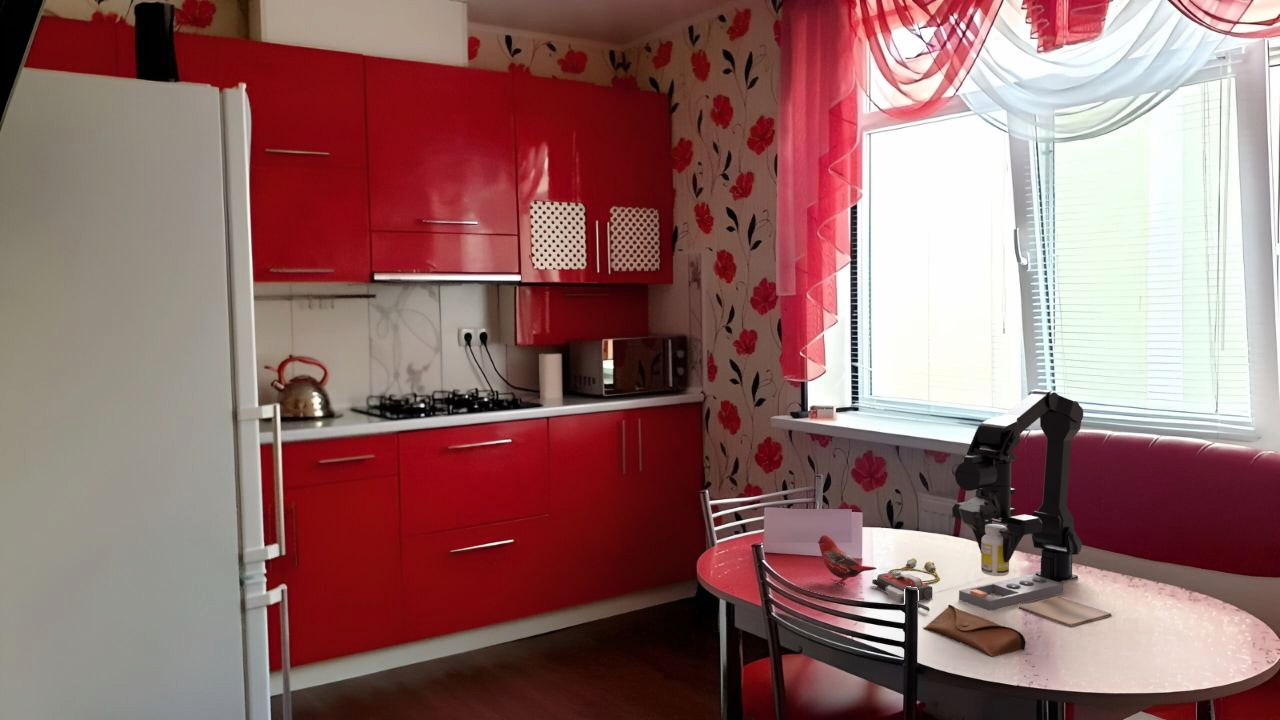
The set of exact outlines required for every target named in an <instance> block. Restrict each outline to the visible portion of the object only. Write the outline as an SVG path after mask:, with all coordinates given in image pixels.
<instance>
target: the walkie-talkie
mask: <svg viewBox="0 0 1280 720" xmlns="http://www.w3.org/2000/svg"><path fill="white" fill-rule="evenodd" d="M922 581H923V580H922V579H921V578H920V577H918V576H915V575H913V574H911V573H907V574H902V571H895V572H891V573H888V572H885V573H879V574H878V575H877V577H876V579H872V583H871V584H873V585H875V586H876V588H877V590H880V591H882V590H883V592H884V593H886V594H887V598H888V599H889V600H892V601H894V602H896V603H897V604H903V603H904V589H905V587H906V586H911V587H917V588H918V590H919V601H918V608H917V609H923V610H924V611H927V612H930V611H931V610H930V607H929V606H927V605H925V604H923V603H920V602H922V601H926V600H927V601H928V600H932V599H933V586H931V585H930V584H924V583H925V582H922ZM904 604H905V603H904Z"/></svg>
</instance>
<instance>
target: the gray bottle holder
mask: <svg viewBox="0 0 1280 720" xmlns="http://www.w3.org/2000/svg"><path fill="white" fill-rule="evenodd" d="M992 594H994V595H997V596H999V597H994V596H991V595H992ZM1061 594H1064V583H1063V582H1056V581H1053V580H1050V579H1047V578H1043V577H1040V576H1037V575H1035V573H1034V574H1033V573H1031V574H1026V575H1022V576H1021V575H1020V576H1016V577H1013V578H1009V579H1004V580H1000V581H994V582H990V583H986V584H982V585H978V586H973V587H968V588H964V589H959V590H958V601H961V602H963V603H967V604H969V605H971V606H974V607H977V608H981V609H983V610H986V611H988V612H991V611H995V610H999V609H1004V608H1008V607H1012V606H1016V605H1020V604H1024V603H1028V602H1032V601H1035V600H1036V601H1037V600H1041V599H1045V598H1049V597H1054V596H1056V595H1061Z"/></svg>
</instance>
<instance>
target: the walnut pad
mask: <svg viewBox="0 0 1280 720" xmlns="http://www.w3.org/2000/svg"><path fill="white" fill-rule="evenodd" d="M1018 610H1021V611H1023V612H1025V613H1026V612H1027V613H1028V614H1029V613H1030V614H1032V615H1035V616H1038V617H1041V618H1043V619H1046V620H1049V621H1053V622H1055V623H1058V624H1061V625H1064V626H1067V627H1068V628H1069V627H1070V628H1071V627H1075V626H1079V625H1083V624H1087V623H1090V622H1094V621H1097V620H1098V621H1099V620H1100V619H1104V618H1108V617H1112V613H1111V612H1108V611H1106V610H1102V609H1099V608H1095V607H1092V606H1090V605H1087V604H1084V603H1080V602H1077V601H1074V600H1071V599H1068V598H1065V597H1062V596H1055V597H1050V598H1047V599H1044V600H1043V599H1042V600H1039V601H1035V602H1031V603H1027V604H1022V605H1018Z"/></svg>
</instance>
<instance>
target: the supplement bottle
mask: <svg viewBox="0 0 1280 720" xmlns="http://www.w3.org/2000/svg"><path fill="white" fill-rule="evenodd" d="M1001 530H1006V525H1004V524H1003V525H1002V524H1000V523H999V524H998V523H996V524H995V523H992V524H987V525H985V533H986V535H984V536H983V537H982V540H981V551H980V555H981V556H980V557H981V558H980V559H981V560H980V563H981V564H980V570H981V572H982V573H983V574H985V575H988V576H993V577H1003V576H1005V577H1006V576H1007V575H1008V574H1010V573H1009V572H1010V561H1009V562H1004V558H1003V537H1002V535H1001V534H1000V533H999V531H1001Z"/></svg>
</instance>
